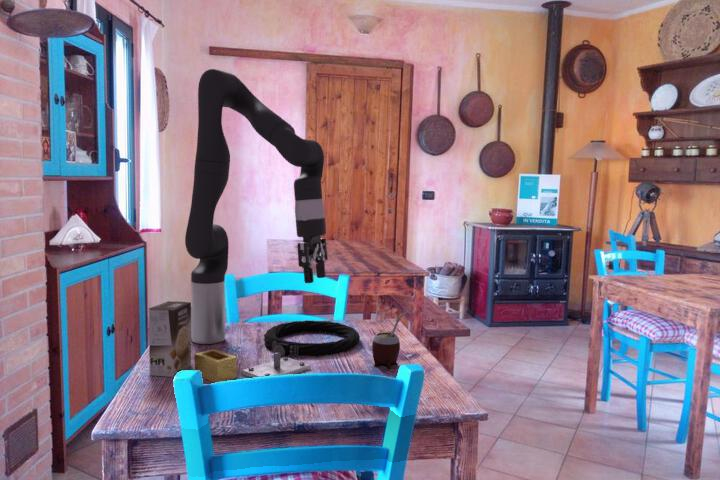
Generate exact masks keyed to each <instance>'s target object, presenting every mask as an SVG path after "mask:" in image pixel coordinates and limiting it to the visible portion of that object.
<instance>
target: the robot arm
mask: <svg viewBox="0 0 720 480" xmlns="http://www.w3.org/2000/svg"><path fill="white" fill-rule="evenodd" d="M197 100H198V101H197V104H198V105H197V110H198V114H197V115H198V121H197V122H198V123H197V125H198V126H197V139H196V140H197V141H196V142H197V143H196V152H195V157H194V158H195V159H194V161H195V162H194V170H193V171H194V173H193V187H192V194H191V195H192V196H191V203H190V204H191V205H190V211H189V216H188V221H187V225H186V231H185V235H184V237H185V239H184V240H185V241H184V244H185V249H186V251H187V253H188V254H189V256H191V257H192V258H193V259H197V260H198V259H199V262H198V264H197V266H196V267H195V268H194V269H193V270H192V271H191V273H190V279H191V280H190V286H191V288H190V289H191V290H190V291H191V294H190V295H191V343H194V344H199V345H200V344H201V345H208V344H209V345H212V344H213V345H214V344H217V343H222V342H223V341H225V340H226V330H225V329H226V288H225V287H226V286H225V285H226V281H225V279H226V273H227V272H228V271H227V270H228V265H229V263H228V262H229V235H228V234H227V231H226V230H225V228H224V227H222V226H221V225H219V224H217V223H214V218H215V212H216V208H217V205H218V203H219V201H220V199H221V197H222V195H223V193H224V191H225V188H226V186H227V184H228V181H229V177H230V165H231V153H230V149H229V146H228V142H227V139H226V136H225V134H224V129H223V123H222V122H223V121H222V117H223V108H229V109H232V110H234V112H237V113H239V114H240V115H241V116H243V117H244V118H245V119H247V120H248V122H249V123H250V125H251V126H252V128H253V130H255V132H256V133H257V134H258V135H259V136H260V137H262V138H263V139H264V140H265V141H267V142H268V143H269V144H270V145H272V146H273V147H275V149H276V150H277V152H278V153H279V154H280V155H281V157H282V158H283V159H284V160H285V161H286V162H288V163H289V164H290V165H292V166H293V167H297V168H300V173H299V177H297V178H296V179H295V180H294V181H293V191H294V215H295V228H296V237H298V238H302V242H297V245H296V246H297V258H298V260H297V261H298V267H299V268H301V269H303V278H304V279H303V282H304V283H305V284H312V283H314V280H315V279H314V270H313V269H314V268H313V266H314V262H315V271H316V277H317V279H323V278H325V277H326V266H325V265H326V264H325V263H326V262H327V261H328V258H329V257H328V249H327V239H326V237H321V236H325V235H326V234H327V227H326V226H327V225H326V218H325V217H326V214H325V205H324V202H323V191H322V190H323V189H322V178H323V171H324V165H325V154H324V149H323V148H322V145H321V144H320V143H319V142H318V141H316V140H313V139H307V138H302V137H300V136H298V135H297V134H296V131H295V129H294V127H293V126H292V125H291V124H290V123H288V122H287V121H286V120H285V119H284V118H282V117H281V116H279V115H278V114H277V113H276V112H274V111H273V110H271V109H270V108H269V107H268V106H267V105H265V104H264V103H263V102H262V101H260V100H259V98H257V96H255V95H254V94H253V93H252V92H251V90H250V89H249V88H248V87H247V86H246V84H245V83H244V82H243V81H241V80H240V78H239V77H237V76H236V75H235V74H233V73H230V72H227V71H224V70H220V69H217V68H209V69H208V68H207V69H206V70H205V71H204V72H203V73H202V74H201V76H200V78H199V81H198V88H197Z"/></svg>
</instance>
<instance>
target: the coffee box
mask: <svg viewBox="0 0 720 480" xmlns="http://www.w3.org/2000/svg"><path fill="white" fill-rule="evenodd" d="M191 306H192V302H189V301H178V300H177V301H170V300H169V301H168V300H167V301H165V302H162V303H159V304H157V305H155V306H152V307H149V308H148V320H149V321H148V331H149V333H148V335H149V336H148V337H149V340H148V344H149V346H148V347H149V352H148V353H149V356H148V357H149V361H148V362H149V376H153V377H154V376H155V377H169V378H173V377H175V376H174V375H175V374H176V373H177V372H179V371H181V370H183V371H185V370H187V369H188V368H189V367H190V366H192V339H191Z"/></svg>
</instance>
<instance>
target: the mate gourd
mask: <svg viewBox="0 0 720 480" xmlns="http://www.w3.org/2000/svg"><path fill="white" fill-rule="evenodd" d="M409 312H410V311H409V310H406V311H404V312H403V313H402V314H400V315H399V316H398V317H397V318H396V320H395V324H394V327H393V329H392V332H378V333H377V334H375V335H374V337H373V339H372V344H371V350H372V358H373V362H374V364H373V367H374V368H381V367H384V368H386V369H387V370H388V371H390V370H392V367H395V366H398V362H397V360H398V358H399V354H400V350H401V349H400V348H401V344H400V338H399V336H398V335H397V334H395V332H396V329H397V326H398V324H399V322H400V321H401V318H402V317H403V316H405V315H406V314H407V313H409Z"/></svg>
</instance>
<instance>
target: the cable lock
mask: <svg viewBox="0 0 720 480" xmlns="http://www.w3.org/2000/svg"><path fill="white" fill-rule="evenodd" d="M325 332H326V334H333V333H335V334H334V335H336V334H337V336H340V337H344V338H342V339H339V340H336V341H328V342H327V341H326V342H320V343H316V342H298V341H296V342H295V341H288V340H285V339H281V337H283V336H287V335H291V334H299V333H325ZM360 338H361V336H360V333H359V332H358V331H357V330H356V329H355V328H354V327H351V326H349V325H345V324H342V323H340V322H333V321H327V320H326V321H325V320H324V321H323V320H319V321H318V320H303V321H302V320H297V321H291V322H287V323H286V322H285V323H281V324H277V325H274V326H272V327H271V328H270V329H267V330H266V333H264V334H263V341H264V345H265V346H266V347H268V348H269V349H270V350H272V351H273V354H274V353H276V352H279V353H280V358H284V357H288V358H289V356H290V358H291V357H294V358H295V357H324V356H334V355H337V354H342V353H347V352H349V351H351V350H353V349H354V348H355V347H356V346H358V344H359V343H360Z"/></svg>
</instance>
